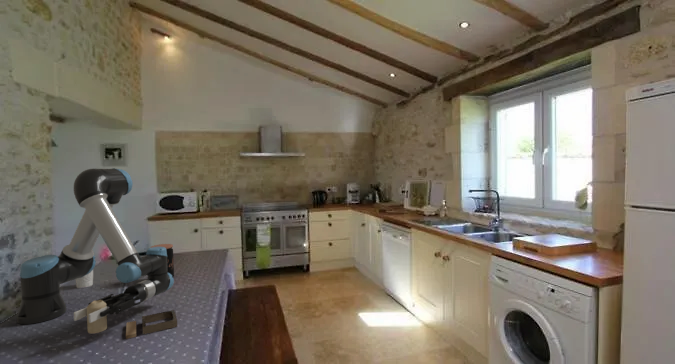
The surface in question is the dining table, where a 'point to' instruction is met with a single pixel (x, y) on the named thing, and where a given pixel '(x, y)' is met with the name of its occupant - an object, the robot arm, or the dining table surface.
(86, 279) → the white cup
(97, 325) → the candle
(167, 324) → the wooden tray
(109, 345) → the dining table surface
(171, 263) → the coffee jar
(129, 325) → the strip
